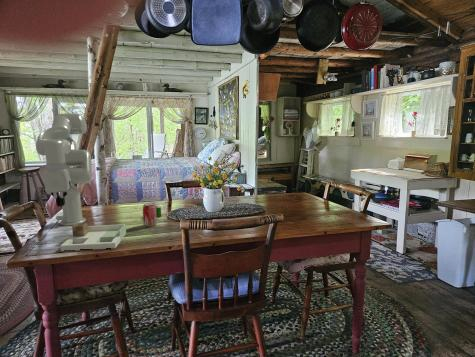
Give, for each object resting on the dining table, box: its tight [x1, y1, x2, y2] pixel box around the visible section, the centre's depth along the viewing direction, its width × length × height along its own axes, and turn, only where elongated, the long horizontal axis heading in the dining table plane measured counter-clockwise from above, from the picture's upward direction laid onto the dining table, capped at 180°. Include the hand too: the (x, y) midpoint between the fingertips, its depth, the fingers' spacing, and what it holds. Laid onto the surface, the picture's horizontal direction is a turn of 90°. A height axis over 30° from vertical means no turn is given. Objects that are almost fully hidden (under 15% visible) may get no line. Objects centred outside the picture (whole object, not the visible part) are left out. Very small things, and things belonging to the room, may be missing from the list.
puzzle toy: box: [155, 204, 162, 218], centre depth 183 cm, size 6×6×6 cm
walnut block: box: [71, 222, 89, 237], centre depth 145 cm, size 5×5×5 cm
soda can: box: [142, 202, 158, 227], centre depth 166 cm, size 7×7×12 cm
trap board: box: [60, 223, 127, 252], centre depth 143 cm, size 23×19×5 cm
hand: (60, 205), depth 143 cm, fingers closed
